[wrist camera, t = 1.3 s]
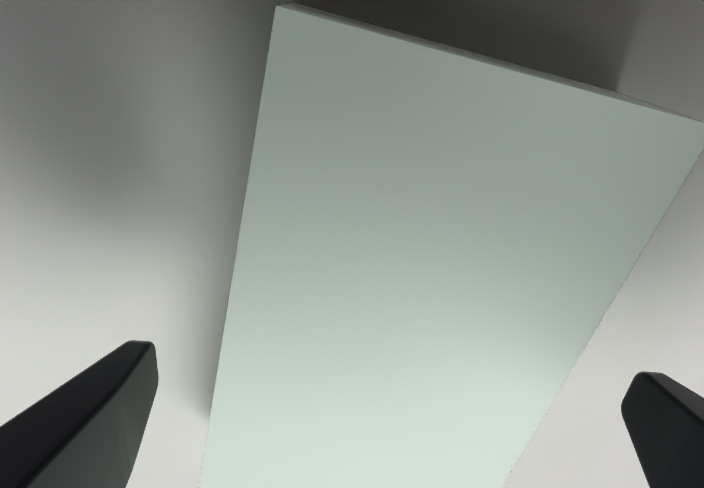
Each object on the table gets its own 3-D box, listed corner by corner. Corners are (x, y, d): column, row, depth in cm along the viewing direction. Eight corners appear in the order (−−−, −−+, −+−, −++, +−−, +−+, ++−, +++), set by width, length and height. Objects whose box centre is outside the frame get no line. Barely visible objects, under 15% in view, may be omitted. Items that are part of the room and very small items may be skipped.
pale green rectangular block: (606, 88, 10) (716, 126, 7) (435, 449, 15) (459, 558, 12) (294, 2, 9) (275, 5, 6) (221, 417, 14) (192, 526, 11)
